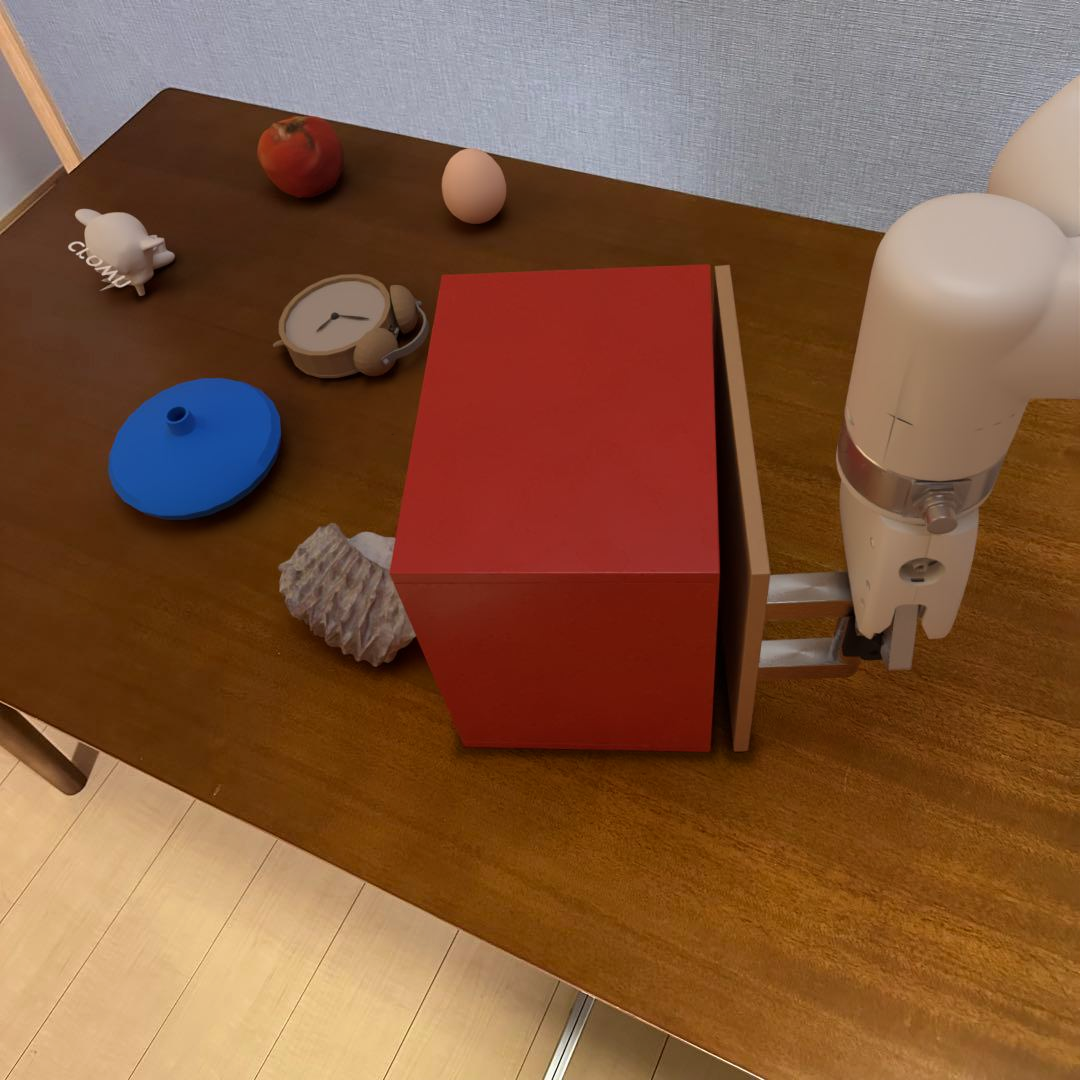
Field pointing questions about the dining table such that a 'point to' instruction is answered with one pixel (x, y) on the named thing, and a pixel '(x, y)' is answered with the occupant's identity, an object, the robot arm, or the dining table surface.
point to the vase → (195, 448)
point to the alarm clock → (349, 326)
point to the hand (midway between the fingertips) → (865, 630)
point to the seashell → (347, 593)
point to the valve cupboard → (567, 509)
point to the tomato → (301, 156)
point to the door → (760, 552)
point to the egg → (473, 186)
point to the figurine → (121, 248)
